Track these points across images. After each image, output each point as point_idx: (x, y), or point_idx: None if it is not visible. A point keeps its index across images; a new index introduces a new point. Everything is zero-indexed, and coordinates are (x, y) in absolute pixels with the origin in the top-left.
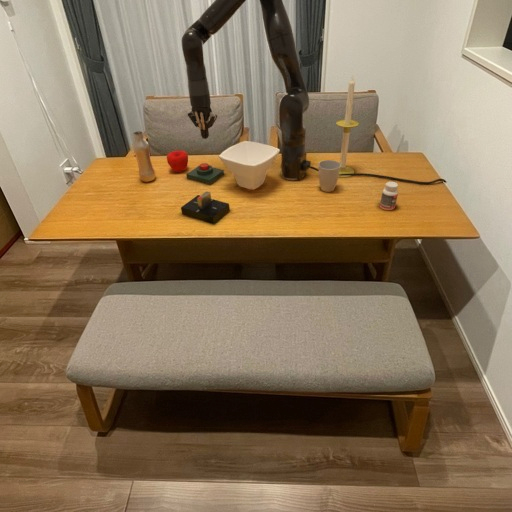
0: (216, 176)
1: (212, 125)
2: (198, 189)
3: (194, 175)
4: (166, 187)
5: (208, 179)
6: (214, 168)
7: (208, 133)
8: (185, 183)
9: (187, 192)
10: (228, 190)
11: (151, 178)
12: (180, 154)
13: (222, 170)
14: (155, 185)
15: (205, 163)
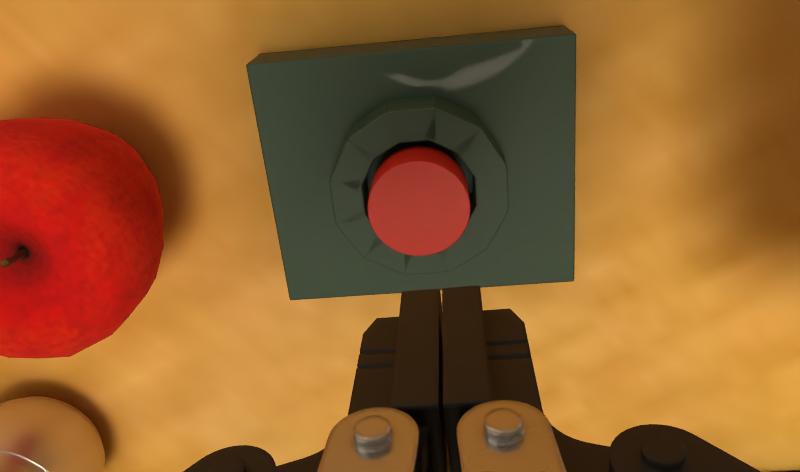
0: (572, 171)
1: (725, 454)
2: None
3: (380, 285)
4: (273, 444)
5: (555, 279)
6: (454, 59)
7: (529, 355)
8: (350, 337)
9: None
10: (775, 252)
11: (102, 468)
12: (29, 229)
13: (570, 51)
14: (178, 460)
15: (405, 173)
